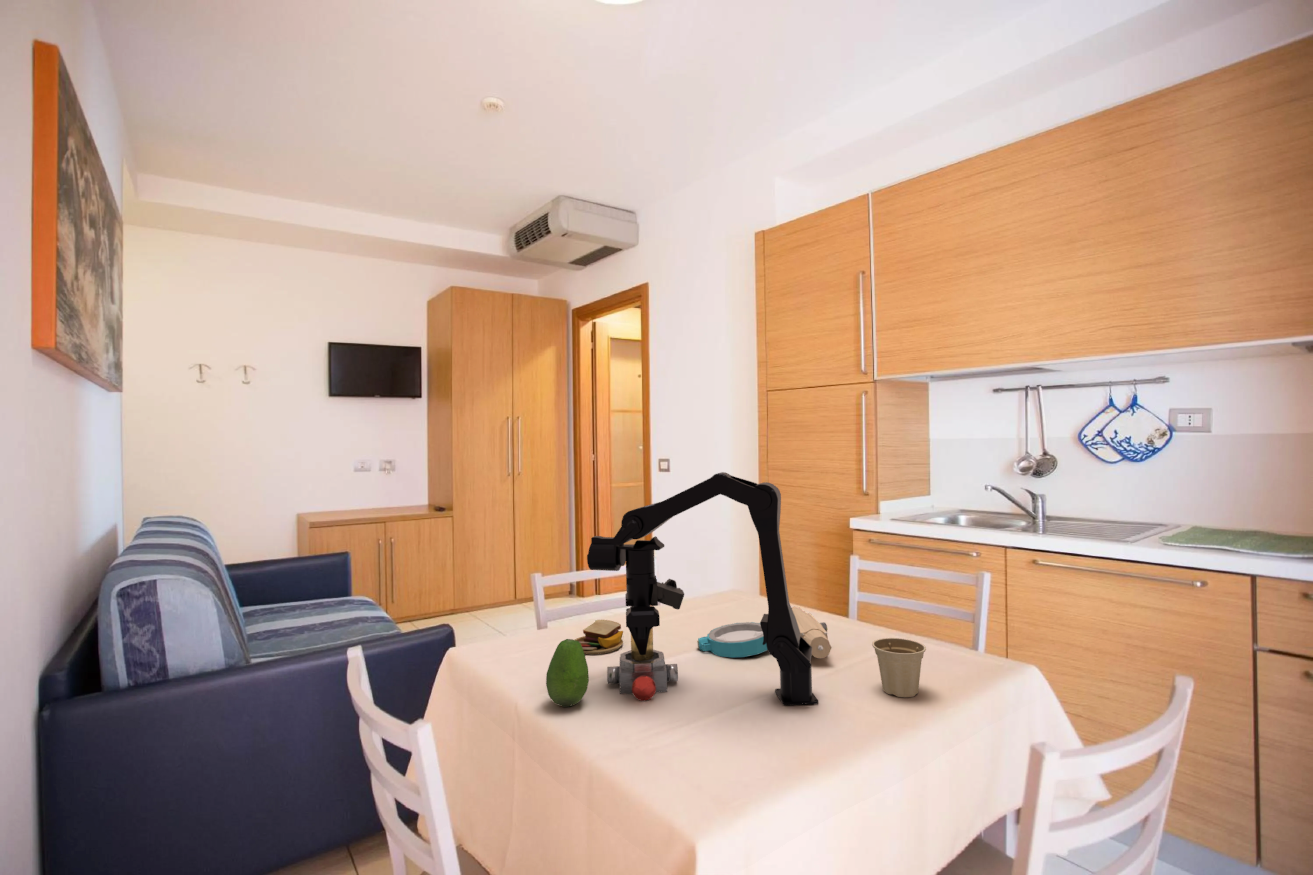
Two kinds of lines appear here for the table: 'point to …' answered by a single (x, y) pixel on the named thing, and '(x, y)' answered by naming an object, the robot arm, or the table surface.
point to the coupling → (649, 651)
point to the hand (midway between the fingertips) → (642, 650)
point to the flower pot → (899, 665)
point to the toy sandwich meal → (601, 637)
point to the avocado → (567, 674)
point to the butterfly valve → (750, 637)
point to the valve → (642, 675)
